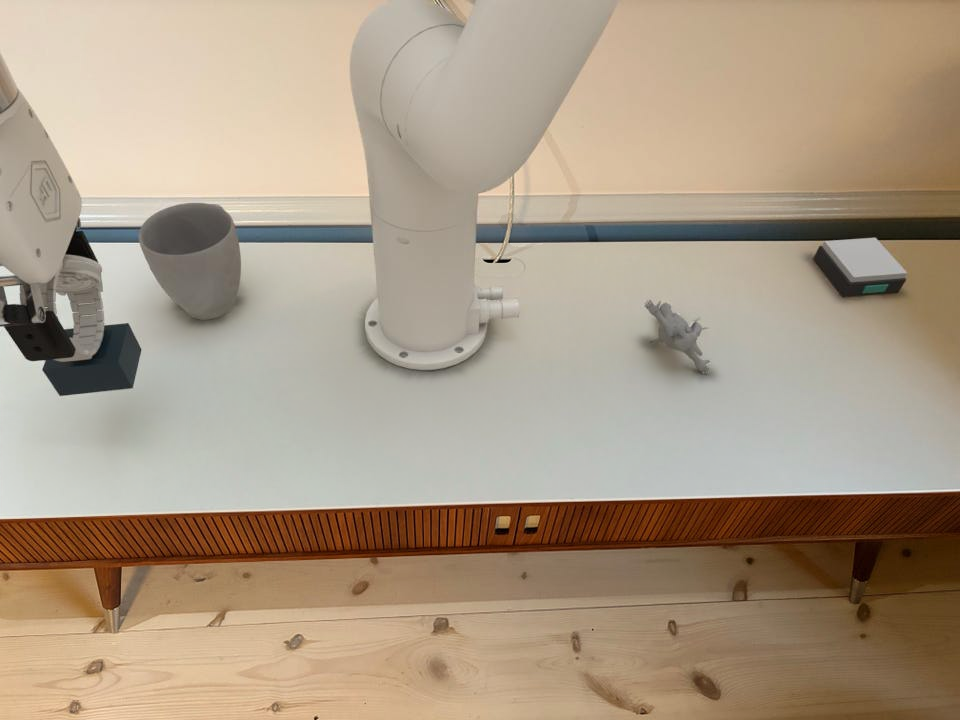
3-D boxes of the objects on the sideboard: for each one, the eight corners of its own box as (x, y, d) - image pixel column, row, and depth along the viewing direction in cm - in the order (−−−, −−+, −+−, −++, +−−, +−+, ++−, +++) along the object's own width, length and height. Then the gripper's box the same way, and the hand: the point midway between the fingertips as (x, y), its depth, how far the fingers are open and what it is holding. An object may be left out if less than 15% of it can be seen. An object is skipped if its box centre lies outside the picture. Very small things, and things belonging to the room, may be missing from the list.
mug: (238, 334, 71) (216, 259, 64) (152, 327, 71) (121, 252, 64) (271, 261, 79) (254, 187, 72) (194, 255, 79) (170, 181, 72)
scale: (865, 255, 85) (876, 236, 82) (899, 293, 80) (911, 274, 78) (812, 259, 84) (822, 240, 82) (843, 298, 79) (853, 279, 77)
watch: (145, 333, 60) (95, 228, 52) (128, 405, 54) (69, 301, 46) (76, 339, 59) (14, 235, 51) (53, 413, 54) (-21, 310, 46)
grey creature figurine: (720, 329, 75) (738, 366, 66) (674, 361, 77) (686, 401, 69) (663, 261, 72) (675, 291, 64) (617, 296, 74) (622, 329, 66)
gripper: (-44, 167, 34) (96, 396, 47) (48, 23, 46) (139, 238, 58) (-215, 179, 33) (-24, 409, 46) (-77, 28, 45) (44, 246, 57)
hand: (67, 313), depth 52 cm, fingers closed on watch, 8 cm apart
